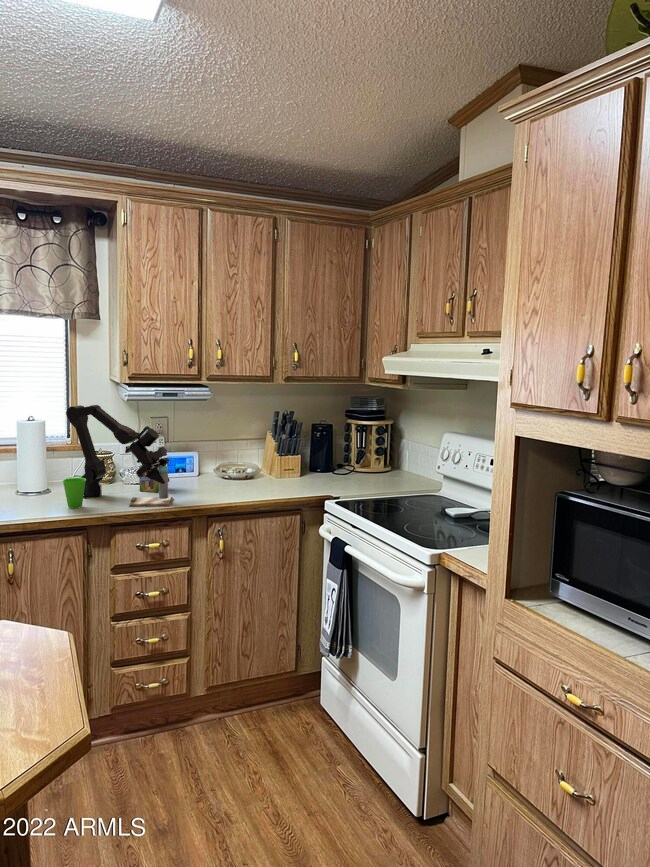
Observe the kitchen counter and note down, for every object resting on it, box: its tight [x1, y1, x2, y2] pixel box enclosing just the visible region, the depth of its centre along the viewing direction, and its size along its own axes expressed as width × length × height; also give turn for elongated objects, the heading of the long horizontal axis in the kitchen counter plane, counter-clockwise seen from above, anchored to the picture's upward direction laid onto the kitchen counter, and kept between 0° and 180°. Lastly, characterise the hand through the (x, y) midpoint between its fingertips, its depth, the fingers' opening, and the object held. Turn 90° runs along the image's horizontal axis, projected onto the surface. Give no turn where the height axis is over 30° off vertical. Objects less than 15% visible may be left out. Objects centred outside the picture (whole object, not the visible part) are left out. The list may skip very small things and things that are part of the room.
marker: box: [158, 465, 169, 499], centre depth 270 cm, size 4×4×13 cm
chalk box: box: [138, 464, 159, 493], centre depth 294 cm, size 9×9×15 cm
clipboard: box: [128, 496, 173, 508], centre depth 272 cm, size 16×13×2 cm
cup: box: [61, 477, 86, 509], centre depth 261 cm, size 9×9×11 cm
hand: (166, 482), depth 270 cm, fingers closed on marker, 3 cm apart
